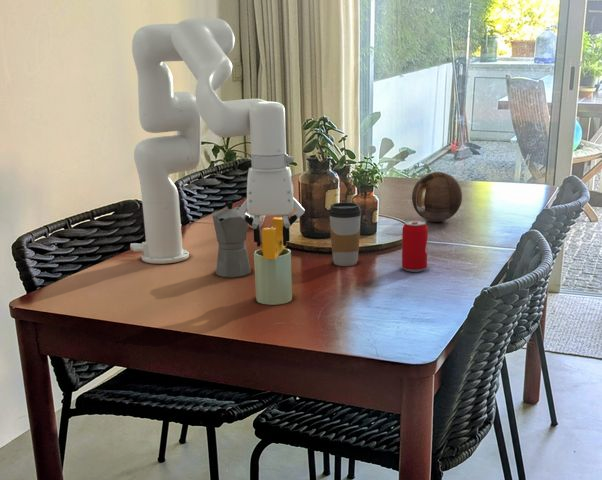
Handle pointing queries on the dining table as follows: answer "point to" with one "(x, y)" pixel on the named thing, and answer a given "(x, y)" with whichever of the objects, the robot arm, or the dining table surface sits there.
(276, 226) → the yellow toy block
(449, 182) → the wooden sphere
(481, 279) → the dining table surface
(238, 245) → the coffeepot
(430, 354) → the dining table surface
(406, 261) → the beverage can
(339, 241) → the coffee cup
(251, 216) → the white rounded piece
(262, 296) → the tumbler
